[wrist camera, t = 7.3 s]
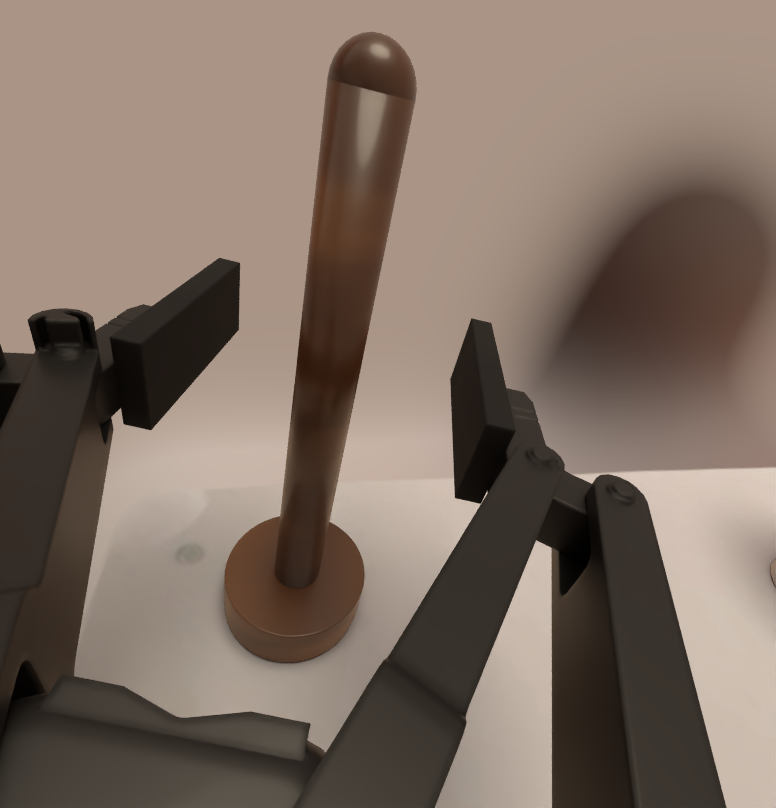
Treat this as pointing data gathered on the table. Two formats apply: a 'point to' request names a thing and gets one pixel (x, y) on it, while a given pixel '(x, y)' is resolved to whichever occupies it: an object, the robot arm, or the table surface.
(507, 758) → the table surface
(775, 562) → the coffee cup
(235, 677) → the table surface
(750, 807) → the table surface
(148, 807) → the robot arm
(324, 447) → the paper towel holder
